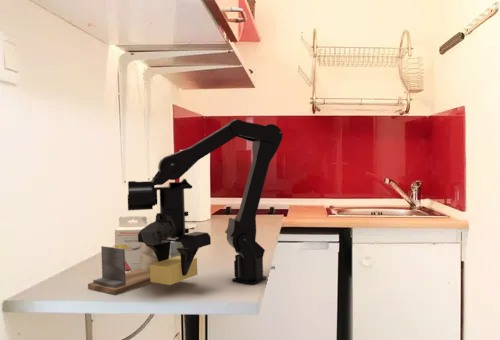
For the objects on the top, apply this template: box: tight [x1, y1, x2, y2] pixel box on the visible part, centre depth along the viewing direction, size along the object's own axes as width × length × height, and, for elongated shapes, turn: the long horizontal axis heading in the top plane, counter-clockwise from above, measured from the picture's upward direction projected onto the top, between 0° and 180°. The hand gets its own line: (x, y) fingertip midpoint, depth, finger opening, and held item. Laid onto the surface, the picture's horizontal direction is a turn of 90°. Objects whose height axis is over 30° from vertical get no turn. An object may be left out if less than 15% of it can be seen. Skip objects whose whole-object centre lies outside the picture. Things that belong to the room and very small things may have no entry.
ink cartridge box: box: [114, 215, 148, 272], centre depth 125 cm, size 9×5×15 cm, turn 92°
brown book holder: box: [87, 241, 182, 296], centre depth 113 cm, size 10×24×10 cm, turn 146°
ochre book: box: [150, 256, 198, 286], centre depth 105 cm, size 6×10×4 cm, turn 150°
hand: (174, 273), depth 105 cm, fingers closed on ochre book, 6 cm apart
